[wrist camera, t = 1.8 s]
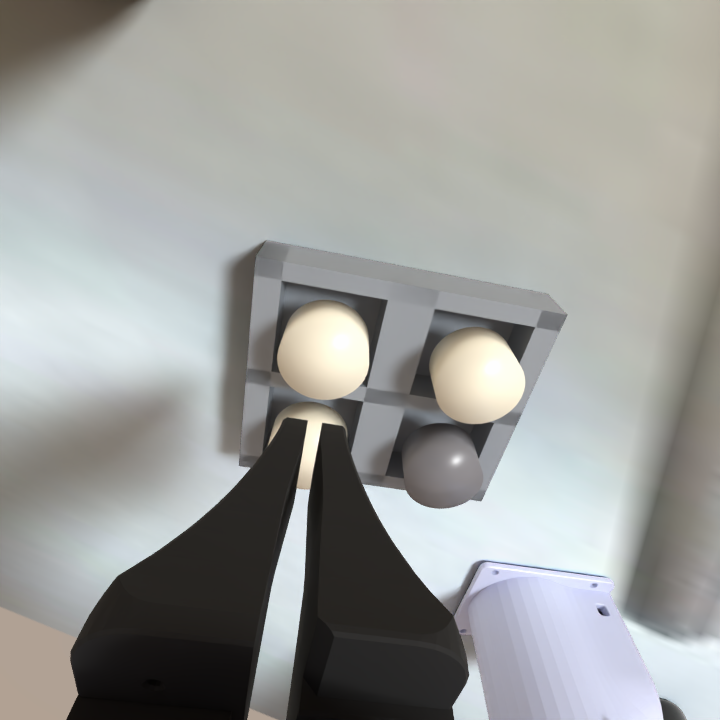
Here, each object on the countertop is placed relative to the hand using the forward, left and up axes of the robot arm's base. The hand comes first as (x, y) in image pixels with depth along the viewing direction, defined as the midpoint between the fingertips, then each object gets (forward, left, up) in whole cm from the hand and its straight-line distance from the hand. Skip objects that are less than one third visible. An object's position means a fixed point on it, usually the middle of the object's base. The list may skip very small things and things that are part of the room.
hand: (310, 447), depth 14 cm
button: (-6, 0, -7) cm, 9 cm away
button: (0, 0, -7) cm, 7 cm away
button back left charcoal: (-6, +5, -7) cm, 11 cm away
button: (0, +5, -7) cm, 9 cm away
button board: (-3, +3, -9) cm, 10 cm away
